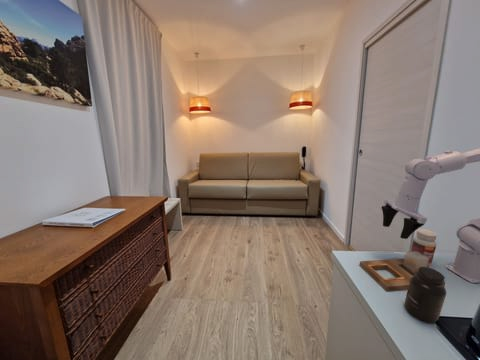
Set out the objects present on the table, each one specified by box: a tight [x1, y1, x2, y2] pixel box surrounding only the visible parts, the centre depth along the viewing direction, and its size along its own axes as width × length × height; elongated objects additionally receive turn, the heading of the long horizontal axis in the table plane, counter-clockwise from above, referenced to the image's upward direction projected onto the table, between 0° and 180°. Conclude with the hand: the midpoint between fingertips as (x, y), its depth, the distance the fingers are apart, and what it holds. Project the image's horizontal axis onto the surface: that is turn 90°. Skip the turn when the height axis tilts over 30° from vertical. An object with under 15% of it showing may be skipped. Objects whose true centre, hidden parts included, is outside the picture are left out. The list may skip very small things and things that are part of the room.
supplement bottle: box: [403, 266, 447, 324], centre depth 53 cm, size 7×7×12 cm
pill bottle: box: [410, 228, 438, 267], centre depth 74 cm, size 6×6×11 cm
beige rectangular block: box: [403, 251, 429, 276], centre depth 68 cm, size 4×4×7 cm
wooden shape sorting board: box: [359, 257, 446, 292], centre depth 68 cm, size 19×12×2 cm, turn 97°
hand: (394, 231), depth 73 cm, fingers open, 7 cm apart
